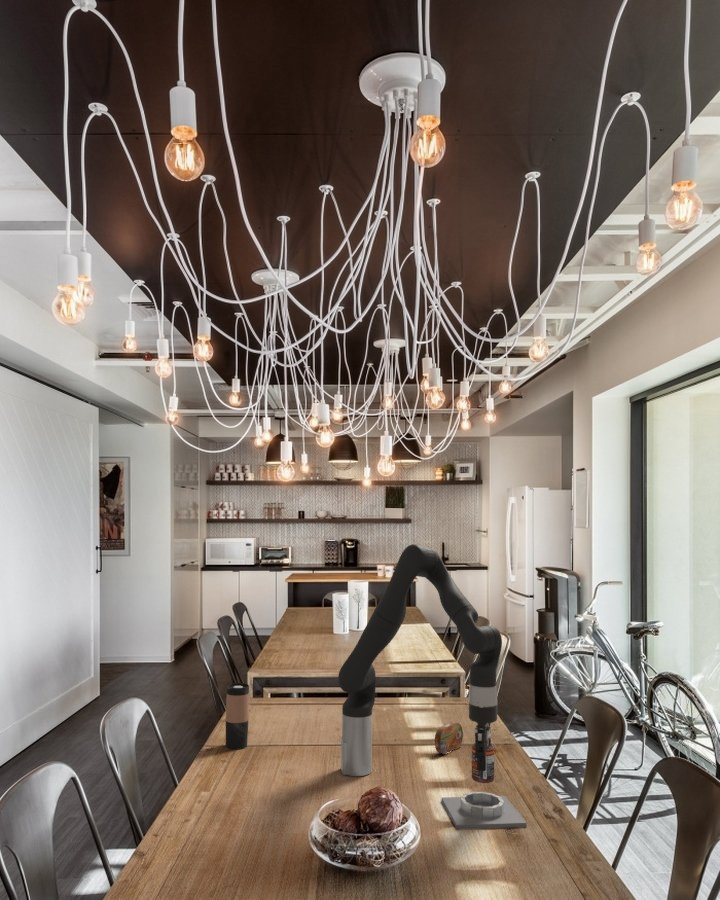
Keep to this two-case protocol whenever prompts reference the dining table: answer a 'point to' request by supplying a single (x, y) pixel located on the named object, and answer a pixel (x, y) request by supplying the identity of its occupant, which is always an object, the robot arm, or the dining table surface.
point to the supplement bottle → (488, 774)
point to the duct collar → (478, 810)
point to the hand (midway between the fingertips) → (482, 766)
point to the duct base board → (468, 822)
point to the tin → (448, 738)
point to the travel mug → (237, 715)
